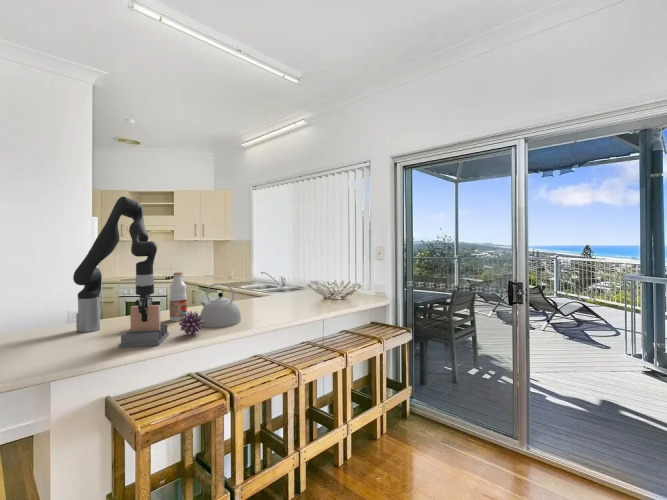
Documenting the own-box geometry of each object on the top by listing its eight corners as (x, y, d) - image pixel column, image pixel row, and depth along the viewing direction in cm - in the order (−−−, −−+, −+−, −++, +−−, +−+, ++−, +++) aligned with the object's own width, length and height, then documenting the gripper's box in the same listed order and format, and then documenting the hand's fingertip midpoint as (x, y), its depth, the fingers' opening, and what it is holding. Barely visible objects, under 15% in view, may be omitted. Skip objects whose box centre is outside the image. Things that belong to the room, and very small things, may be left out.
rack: (119, 347, 149) (119, 335, 149) (133, 336, 165) (133, 325, 165) (158, 345, 152) (158, 333, 152) (168, 335, 169) (168, 324, 169)
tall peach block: (130, 332, 156) (130, 307, 156) (132, 331, 159) (132, 306, 159) (159, 331, 159) (158, 305, 159) (160, 329, 161) (160, 304, 161)
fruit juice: (170, 318, 205) (169, 272, 204) (187, 317, 208) (186, 271, 207) (168, 321, 196) (168, 273, 195) (186, 320, 199) (185, 273, 198)
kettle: (187, 325, 189) (186, 284, 188) (212, 316, 211) (212, 280, 210) (226, 328, 182) (226, 286, 181) (248, 319, 204) (248, 281, 203)
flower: (190, 330, 177) (189, 308, 177) (209, 332, 173) (209, 309, 173) (173, 336, 166) (173, 312, 166) (193, 338, 162) (193, 314, 162)
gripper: (141, 282, 164) (141, 317, 165) (130, 286, 151) (131, 324, 151) (157, 281, 166) (158, 317, 166) (148, 285, 152) (149, 323, 153)
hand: (145, 320), depth 159 cm, fingers closed on tall peach block, 2 cm apart
